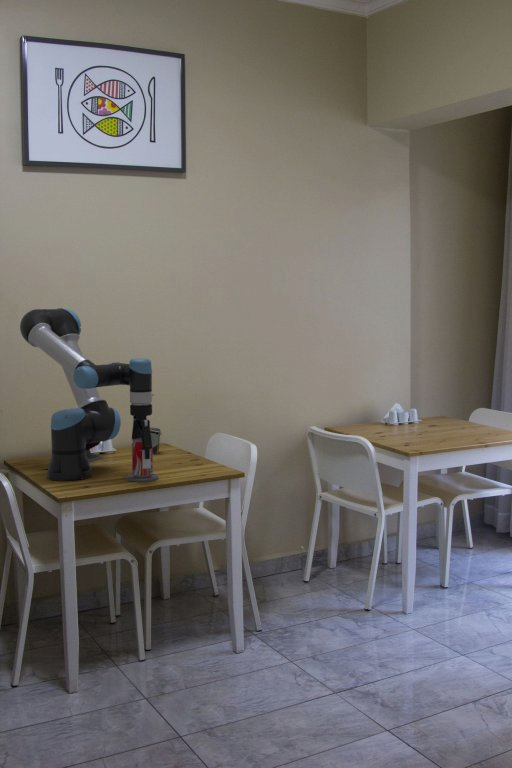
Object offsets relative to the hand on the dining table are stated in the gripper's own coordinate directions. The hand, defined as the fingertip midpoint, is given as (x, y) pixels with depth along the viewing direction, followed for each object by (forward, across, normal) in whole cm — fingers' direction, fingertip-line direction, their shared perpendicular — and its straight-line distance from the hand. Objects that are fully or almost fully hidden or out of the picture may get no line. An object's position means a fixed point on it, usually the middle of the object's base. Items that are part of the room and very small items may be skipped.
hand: (142, 464), depth 295 cm
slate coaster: (+5, 0, 0) cm, 5 cm away
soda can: (+4, 0, 0) cm, 4 cm away
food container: (+5, +46, -14) cm, 49 cm away
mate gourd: (+5, +43, +12) cm, 45 cm away
